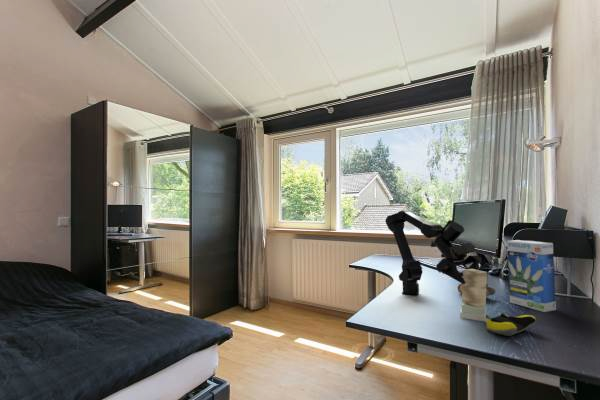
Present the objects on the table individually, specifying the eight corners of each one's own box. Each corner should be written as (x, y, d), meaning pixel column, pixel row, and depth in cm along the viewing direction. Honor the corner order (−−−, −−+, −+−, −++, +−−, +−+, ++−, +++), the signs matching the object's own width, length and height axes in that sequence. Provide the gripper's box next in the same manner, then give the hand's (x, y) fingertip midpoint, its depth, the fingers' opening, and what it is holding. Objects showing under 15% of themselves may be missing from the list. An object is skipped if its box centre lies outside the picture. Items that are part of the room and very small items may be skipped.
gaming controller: (539, 333, 92) (505, 323, 101) (538, 315, 92) (504, 307, 101) (513, 344, 85) (479, 332, 94) (512, 325, 85) (478, 315, 94)
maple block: (462, 301, 109) (463, 269, 109) (470, 300, 112) (472, 268, 112) (476, 306, 104) (477, 273, 105) (485, 304, 107) (486, 272, 107)
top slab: (461, 311, 107) (461, 304, 107) (464, 306, 113) (464, 299, 113) (484, 315, 103) (483, 308, 103) (485, 309, 109) (485, 303, 109)
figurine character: (496, 303, 126) (463, 291, 140) (497, 285, 125) (464, 275, 139) (486, 305, 123) (453, 293, 137) (487, 288, 123) (454, 277, 136)
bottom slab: (460, 319, 107) (459, 312, 107) (461, 312, 113) (461, 306, 114) (486, 323, 102) (485, 315, 102) (486, 316, 109) (485, 309, 109)
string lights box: (509, 302, 122) (505, 240, 123) (521, 300, 124) (517, 239, 125) (545, 312, 109) (541, 243, 110) (557, 309, 112) (553, 242, 113)
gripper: (441, 237, 110) (468, 272, 100) (475, 234, 117) (505, 266, 106) (425, 255, 117) (450, 289, 107) (459, 251, 124) (485, 283, 114)
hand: (473, 282), depth 108 cm, fingers open, 9 cm apart
